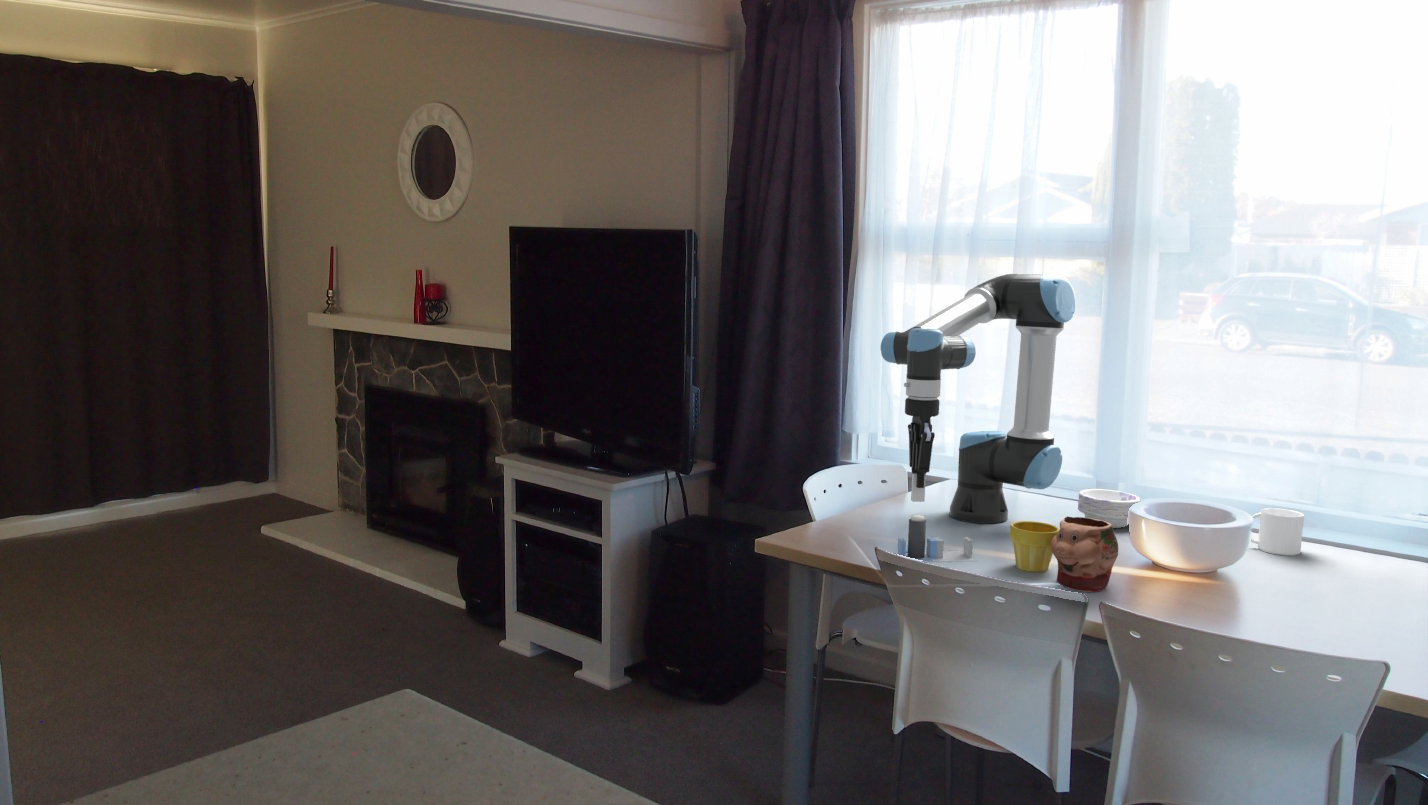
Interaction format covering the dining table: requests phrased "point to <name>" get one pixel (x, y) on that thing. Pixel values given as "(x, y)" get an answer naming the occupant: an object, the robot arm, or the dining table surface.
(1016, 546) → the plant pot
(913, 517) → the dark gray cylinder
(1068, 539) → the decorative planter
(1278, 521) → the mug
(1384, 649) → the dining table surface
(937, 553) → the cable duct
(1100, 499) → the paper bowls
